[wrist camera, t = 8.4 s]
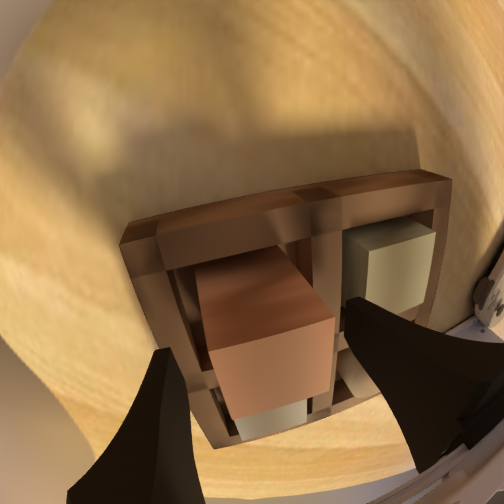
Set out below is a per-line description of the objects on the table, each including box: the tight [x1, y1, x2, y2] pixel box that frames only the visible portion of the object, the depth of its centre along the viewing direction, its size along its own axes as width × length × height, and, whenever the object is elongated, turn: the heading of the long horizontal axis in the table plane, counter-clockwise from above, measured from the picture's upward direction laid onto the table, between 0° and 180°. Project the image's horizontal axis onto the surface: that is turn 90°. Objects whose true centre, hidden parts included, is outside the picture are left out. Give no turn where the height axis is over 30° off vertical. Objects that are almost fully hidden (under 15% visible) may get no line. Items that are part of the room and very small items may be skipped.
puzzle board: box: [119, 169, 452, 449], centre depth 16 cm, size 16×16×4 cm
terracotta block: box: [194, 245, 335, 420], centre depth 12 cm, size 4×4×6 cm
